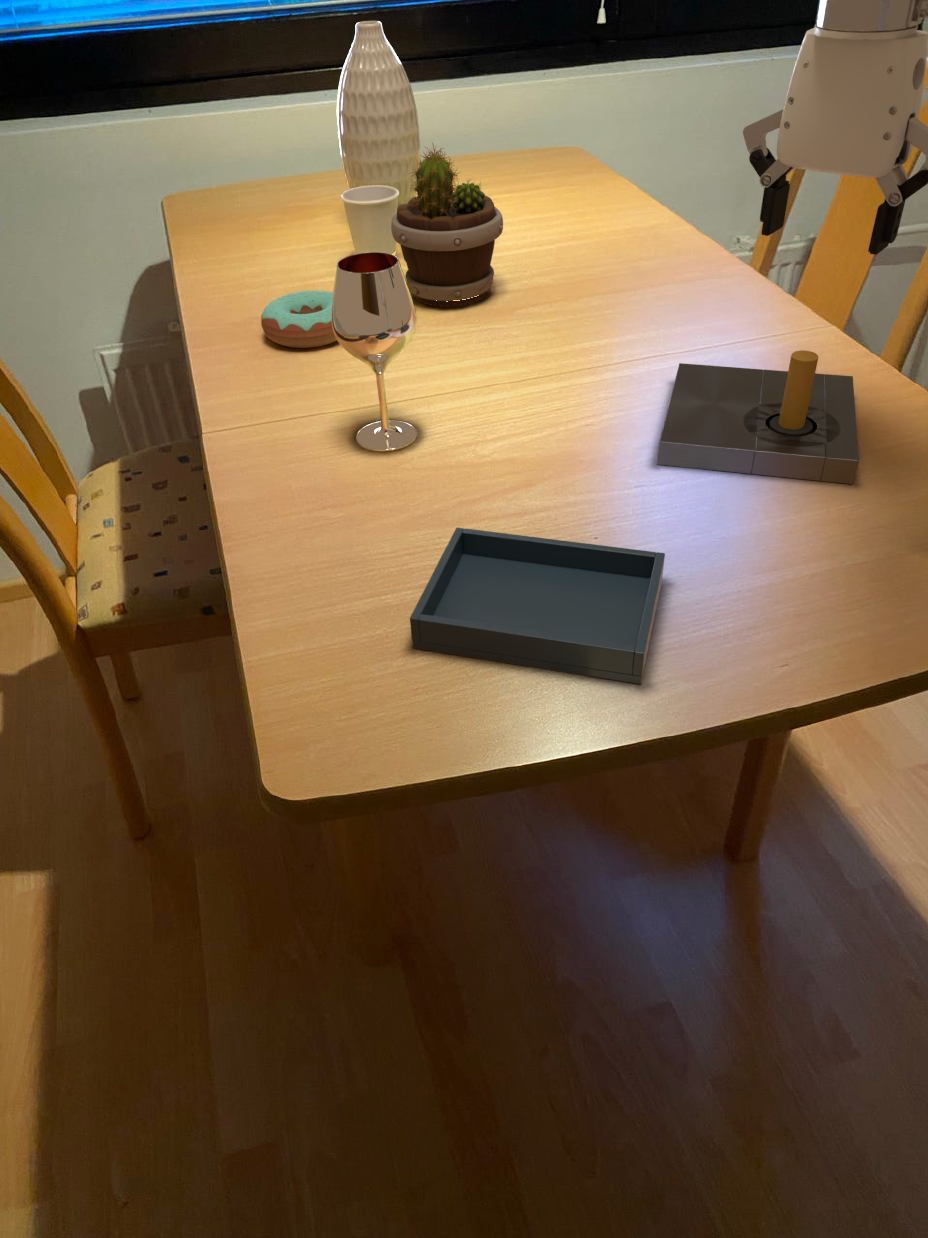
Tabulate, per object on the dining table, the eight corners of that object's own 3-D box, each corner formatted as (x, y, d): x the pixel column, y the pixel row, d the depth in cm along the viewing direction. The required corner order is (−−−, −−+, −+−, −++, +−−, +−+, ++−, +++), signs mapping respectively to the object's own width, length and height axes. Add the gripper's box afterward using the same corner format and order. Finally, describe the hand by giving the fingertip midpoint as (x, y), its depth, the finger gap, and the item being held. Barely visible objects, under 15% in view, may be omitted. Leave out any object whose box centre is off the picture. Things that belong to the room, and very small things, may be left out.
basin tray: (661, 582, 76) (665, 552, 74) (641, 684, 67) (644, 653, 65) (458, 555, 80) (456, 526, 78) (412, 648, 71) (409, 618, 69)
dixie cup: (341, 272, 136) (332, 200, 130) (359, 253, 143) (351, 184, 136) (395, 274, 135) (389, 202, 128) (411, 255, 141) (406, 185, 135)
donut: (244, 344, 118) (238, 313, 115) (300, 310, 126) (295, 281, 123) (322, 359, 113) (317, 327, 110) (374, 323, 121) (371, 292, 118)
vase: (370, 208, 161) (351, 15, 143) (437, 214, 157) (425, 16, 139) (334, 230, 152) (308, 28, 134) (404, 237, 148) (387, 29, 130)
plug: (808, 439, 93) (827, 348, 87) (807, 458, 90) (827, 366, 84) (766, 435, 94) (782, 345, 88) (765, 454, 91) (781, 362, 85)
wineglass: (440, 439, 96) (428, 263, 85) (372, 464, 93) (350, 284, 81) (399, 411, 101) (383, 241, 90) (333, 434, 98) (308, 261, 87)
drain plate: (847, 397, 99) (853, 375, 98) (852, 484, 86) (859, 460, 84) (676, 383, 104) (679, 362, 102) (656, 464, 90) (659, 441, 89)
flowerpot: (425, 270, 135) (414, 118, 123) (522, 282, 130) (521, 124, 117) (376, 306, 125) (358, 144, 113) (479, 321, 120) (473, 152, 107)
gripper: (1003, 8, 69) (938, 245, 80) (782, 0, 78) (751, 214, 89) (971, 23, 65) (908, 271, 76) (741, 12, 73) (714, 236, 84)
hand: (823, 240), depth 82 cm, fingers open, 9 cm apart
